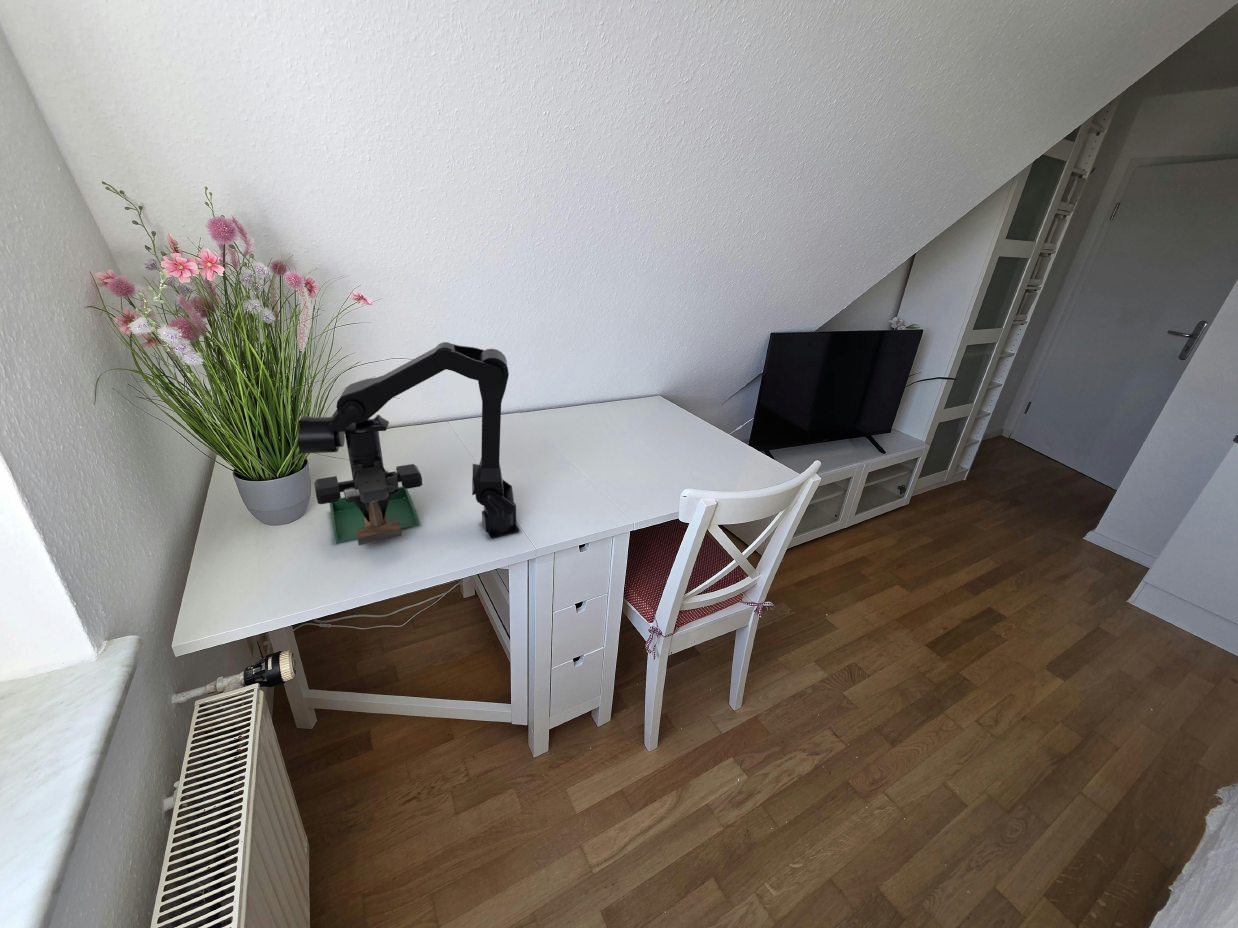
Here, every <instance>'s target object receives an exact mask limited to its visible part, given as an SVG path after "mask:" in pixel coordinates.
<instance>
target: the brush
mask: <svg viewBox="0 0 1238 928" xmlns="http://www.w3.org/2000/svg"><path fill="white" fill-rule="evenodd" d="M367 508H368V514H369V519H370V524H371V526H368V527H363V528H358V529H356V534H357V539H356V540H357V544H358V546H364V545H368V544H369V545H370V544H373V543H379V542H383V541H387V540H391V539H396V538H401V537H403V533H402V529H401V528H400V522H399V521H398V520H396V521H392V522H387V523H384V521H383V516H382V511H381V506H380V501H379V500H377V501H372V502H370V503H367Z"/></svg>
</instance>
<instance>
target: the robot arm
mask: <svg viewBox="0 0 1238 928" xmlns="http://www.w3.org/2000/svg"><path fill="white" fill-rule="evenodd" d="M445 370H447V371H451V372H454V373H456V374H458V375H461V376H463V377H465V378H468V379H470V380H474V381H477V383H478V388H479V393H480V399H481V447H480V448H481V450H480V451H481V454H480V455H481V456H480V460H479V464H476V463H472V478H471V495H472V496H475V500H476V502H477V503H478V504H480V506H483V510H481V524H482V525H481V526H482V528H483V530H484V531H485V533H487V535H488V537H489V538H490V539H497V538H501V537H505V536H508V535H513V534H516V533H519V532H520V528H519V527H518V525H517V504H516V503H515V499H514V490H513V486H512V485H511V484H510V483H509V482H507V481H506V480H505V479H503V473H502V468H501V464H500V453H501V448H500V447H501V424H502V423H501V422H502V402H503V399H504V397H505V392H506V389H507V384H508V380H509V375H510V373H509V367H508V361H507V357H506V356H505V354H504V353H503V352H502V351H500V350H498V349H495V348H487V349H481V348H478V347H474V346H466V345H465V346H464V345H458V344H454V343H451V342H447V341H444V342H440V343H438V344H437V345H436V346H435V347H434V348H432V349H430V350H428V351H426V352H424V353H422V354H421V355H419V356H416V357H415V358H413V359H411V360H409V361H407V362H405V363H404V364H402V365H399V366H398V367H396V368H394V369H393V370H391V371H388V372H386V373H385V374H383V375H380V376H377V377H370V378H366V379H362V380H359V381H357V382H353V383H351V384H348V385H347V386H346V387H345V388H344V390H343V391H342V393H341V395H340V397H339V398H338V400H337V401H336V407H335V408H336V410H335V412H334V413H333V414H332V416H319V417H317V416H315V417H314V416H306V415H305V416H301V417H300V418H299V420H298V421H297V423H298V431H297V433H298V434H297V441H296V443H297V447H298V450H299V452H300V453H301V454H325V453H327V454H328V453H330V454H331V453H338V452H339V449H340V448H343V447H344V446H345V442H346V448H347V453H348V459H349V465H350V471H351V476H352V477H351V478H352V479H349V480H344V481H338V476H337V475H333V476H328V477H322V478H317V479H316V480H315V481H314V483H313V484H314V491H315V497H316V502H317V504H319V505H327V504H330V503H332V502H337V501H338V500H339V499H340V498H342V496H341V493H343V495H344V497H345V499H346V502H353V503H355V504H356V505H357V506H358V507H359V509H360V510H361V512H362V513H363V515H364V516H365V518H366V520H367V521H368V522H370V519H369V514H368V510H367V507H366V504H365V503H370V502H372V501H377V500H380V506H381V511H382V516H383V519H384V517H385V513H386V510H387V506H388V503H389V500H390V498H391V497H392V496H393V495H394V494H397V493H398V492H399V490H398V488H399V487H400V486H399V483H401V487H404V488H406V489H407V490H409V489H415V488H421V487H422V486H423V477H422V473H421V472H420V470H419V468H418V466H417V465H416V464H414V463H411V464H410V463H409V464H404V465H397V466H396V467H395V471H389V470H387V469H386V468H385V467H384V466H385V465H384V460H383V459H384V458H383V452H382V445H381V437H380V432H385V431H387V430H388V427H389V424H390V421H388V419H386V418H383V417H382V416H381V415H380V414H376V413H378V412H379V411H380V410H381V409H382V408H384V406H385V405H387V403H388V402H389V401H391V400H392V399H394V398H395V397H397V396H399V395H401V394H403V393H405V392H406V391H408V390H410V389H412V388H413V387H416V386H418V385H419V384H421V383H424V382H425V381H427V380H429V379H431V378H432V377H435V376H436V375H438V374H440V373H442V372H444V371H445ZM375 414H376V416H375ZM373 416H375V417H373ZM372 417H373V418H372ZM358 507H357V508H358Z"/></svg>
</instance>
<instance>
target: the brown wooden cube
mask: <svg viewBox="0 0 1238 928" xmlns="http://www.w3.org/2000/svg"><path fill="white" fill-rule="evenodd" d="M364 520H365V525H366V527H368V526H371V524H370V522H368V521H367V520H366V518H364ZM383 521H384V523H387V518H386V514H385V517H384V519H383Z"/></svg>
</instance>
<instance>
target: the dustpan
mask: <svg viewBox="0 0 1238 928" xmlns="http://www.w3.org/2000/svg"><path fill="white" fill-rule="evenodd" d="M398 487H399V488H398V490H399V492H398V493H397V494H394V495H393V496H392V497H391V498H390V500H389V503H388V506H387V510H386V513H385V514H386V518H387V522H392V521H396V520H398V521H399V522H400V528H401V530H404V529H408V528H414V527H418V526H419V522H418V513H417V511H416V508H415V505H414V503H413V500H412V497H411V495H410V491H409V489H406V488H404V487H403V486H398ZM379 501H380V500H379ZM365 504H366V507H367V503H365ZM329 508H330V517H331V524H332V530H333V536H334V539H335V544H341V543H345V542H351V541H356V540H358V539H357V534H356V529H358V528H363V527H366V525H365V520H364V518H365V516H364V515H363V513H362V512H361V510H360V509H359V507H358V506H357V505H356V504H355V503H353V502H346V499H345V496H343V497H341V498H340V499H339V500H338V501H337V502H332V503H329ZM367 510H368V508H367Z"/></svg>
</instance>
